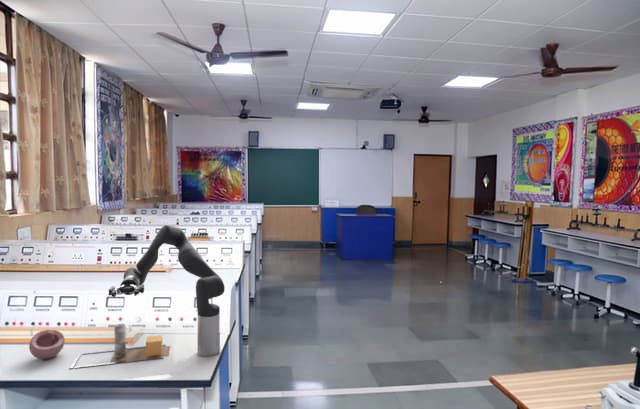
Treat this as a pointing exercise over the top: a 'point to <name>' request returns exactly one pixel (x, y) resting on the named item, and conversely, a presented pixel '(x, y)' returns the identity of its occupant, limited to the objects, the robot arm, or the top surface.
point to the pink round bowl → (46, 344)
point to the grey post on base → (125, 355)
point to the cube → (154, 345)
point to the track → (110, 362)
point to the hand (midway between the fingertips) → (124, 294)
